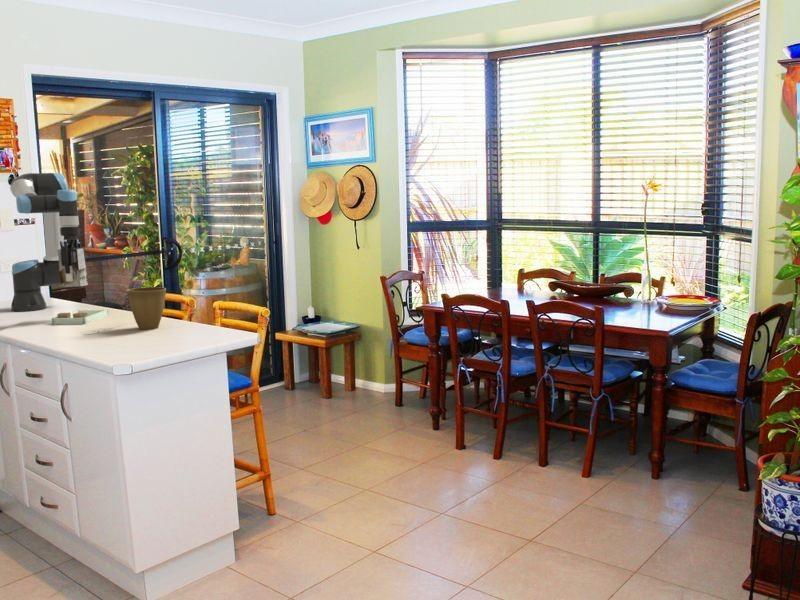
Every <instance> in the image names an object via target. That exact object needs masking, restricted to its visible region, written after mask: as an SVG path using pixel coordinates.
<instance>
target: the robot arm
mask: <svg viewBox="0 0 800 600" xmlns="http://www.w3.org/2000/svg"><path fill="white" fill-rule="evenodd" d="M10 192H11V194H12V195H13V197H14V198H16V200H15V203H16V209H17V210H16V211H17V212H18V213H19V214H26V215H27V214H43V227H44V238H45V239H44V241H45V242H44V243H45V256H44V257H42V261H41V262H40V261H39V260H38V259H28V260H23V261H18V262H15V263H14V264H12V266H11V275H12V285H13V297H12V302H11V305H10V308H11V311H12V312H29V311H30V312H31V311H32V310H33V311H40V310H45V309H47V303H46V299H45V298H44V296H43V294H42V289H41V287H49V286H50V287H51V286H61V280H60V269H59V259H58V250H60V249H61V264H62V266H65V273H66V281H73V273H72V266H70V265H71V252H70V251H69V250H68V249H73V248H83V247H82V239H78V236H80V234H81V231H80V227H79V226H80V221H79V210H78V209H79V208H78V196H77V191H76V190H75V189H69V187H68V183H67V179H66V177H65V175H64V174H63V173H58V172H57V173H56V172H44V173H42V172H41V173H40V172H39V173H36V172H35V173H32V172H31V173H30V172H29V173H24V174H21V175H19V176H17V177H15V178H14V179H13V180H12V182H11V184H10ZM44 308H45V309H44ZM39 309H40V310H39Z"/></svg>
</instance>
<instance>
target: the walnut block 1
mask: <svg viewBox="0 0 800 600" xmlns="http://www.w3.org/2000/svg"><path fill="white" fill-rule="evenodd" d="M56 317H57V318H71V315H70V312H59V313H57V316H56Z"/></svg>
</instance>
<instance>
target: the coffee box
mask: <svg viewBox="0 0 800 600" xmlns="http://www.w3.org/2000/svg"><path fill="white" fill-rule="evenodd" d="M85 249H86V248H85V247H82V248H73V249H68V250H69V251H70V252H71V265H70V266H72V273H73V281H66V273H65V266H62V264H61V249H60V250H58V259H59V269H60V280H61V285H60V287H61V288H65V287H66V288H68V287H71V288H72V287H75V288H76V287H84V286H88V284H89V283H88V275H87V274H88V273H87V264H86V263H87V261H86V252H85Z"/></svg>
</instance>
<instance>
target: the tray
mask: <svg viewBox="0 0 800 600" xmlns="http://www.w3.org/2000/svg"><path fill="white" fill-rule="evenodd" d="M79 312H82V313H87V314H88V316H87V317H84V318H73V314H75V313H79ZM69 313H70V315H71V318H57V316H55V317H52V318H51V326H52V325H56V326H58V325H86V324H90V323H92V322H95V321H97V320H100V319H103V318H106V317H108V316H109V309H82V310H81V309H77V310H73V311H71V312H69Z"/></svg>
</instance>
